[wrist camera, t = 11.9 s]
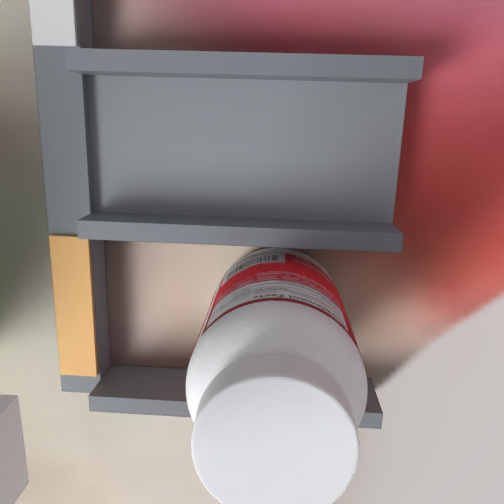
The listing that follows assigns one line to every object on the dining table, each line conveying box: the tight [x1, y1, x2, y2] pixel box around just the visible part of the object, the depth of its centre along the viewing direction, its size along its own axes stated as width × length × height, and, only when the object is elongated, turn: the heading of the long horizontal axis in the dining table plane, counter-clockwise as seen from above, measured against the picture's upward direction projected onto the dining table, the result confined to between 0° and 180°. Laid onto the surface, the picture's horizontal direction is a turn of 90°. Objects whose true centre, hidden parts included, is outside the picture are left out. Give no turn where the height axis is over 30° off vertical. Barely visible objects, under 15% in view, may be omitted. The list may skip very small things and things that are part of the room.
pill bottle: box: [186, 248, 368, 504], centre depth 18 cm, size 6×6×11 cm
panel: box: [29, 0, 424, 429], centre depth 20 cm, size 24×16×3 cm, turn 178°
